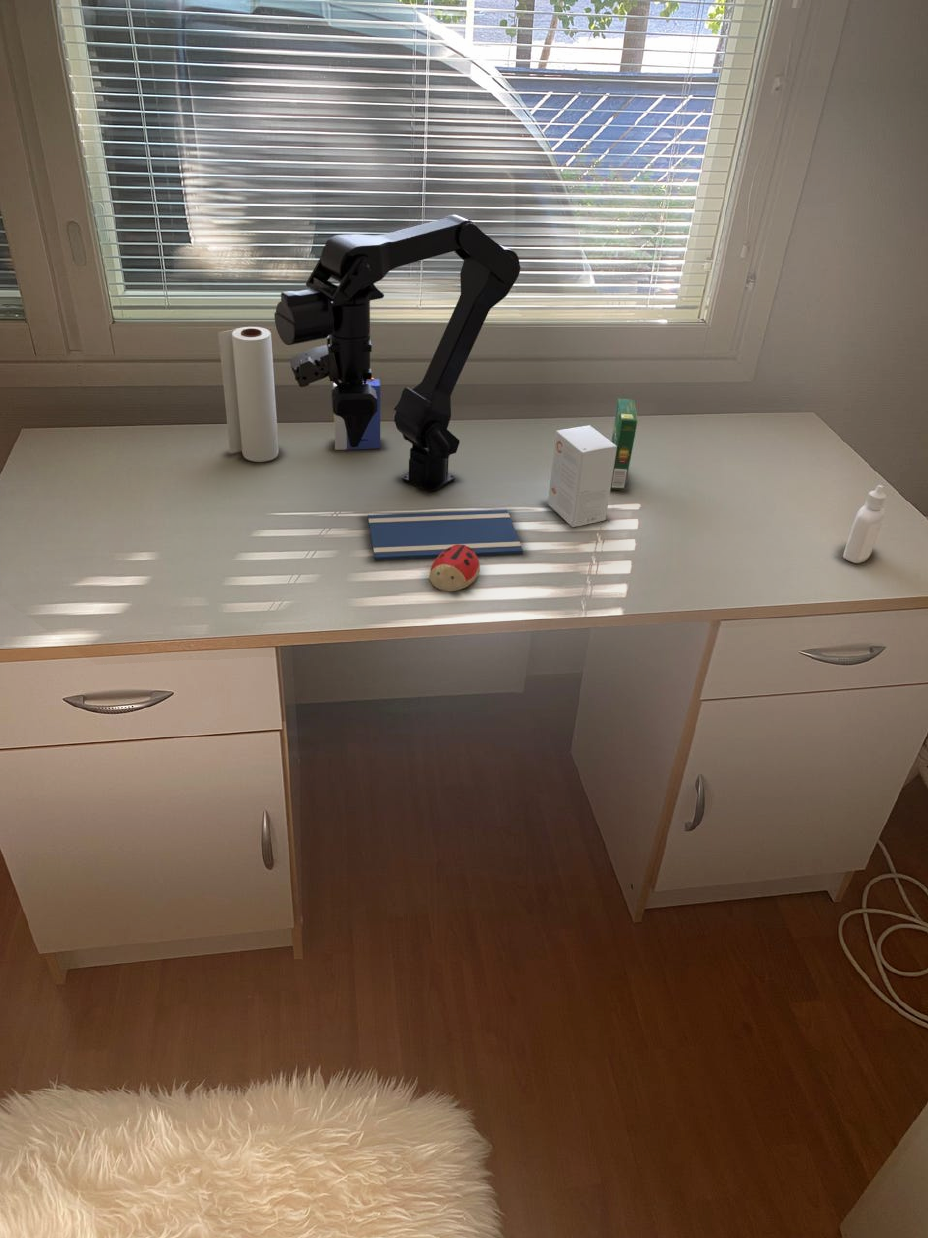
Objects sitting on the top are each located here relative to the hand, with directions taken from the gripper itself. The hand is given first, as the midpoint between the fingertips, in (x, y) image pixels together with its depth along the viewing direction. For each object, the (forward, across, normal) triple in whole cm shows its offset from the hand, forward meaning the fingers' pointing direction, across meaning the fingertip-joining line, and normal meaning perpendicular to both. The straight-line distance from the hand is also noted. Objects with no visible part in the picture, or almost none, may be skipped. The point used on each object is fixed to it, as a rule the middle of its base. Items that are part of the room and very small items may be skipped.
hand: (351, 433), depth 147 cm
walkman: (+12, -20, +2) cm, 23 cm away
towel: (+12, +11, +13) cm, 21 cm away
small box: (+12, +6, +35) cm, 38 cm away
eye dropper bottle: (+12, +22, +75) cm, 79 cm away
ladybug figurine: (+12, +22, +13) cm, 28 cm away
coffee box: (+12, -4, +45) cm, 47 cm away
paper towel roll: (+12, -18, -15) cm, 26 cm away
